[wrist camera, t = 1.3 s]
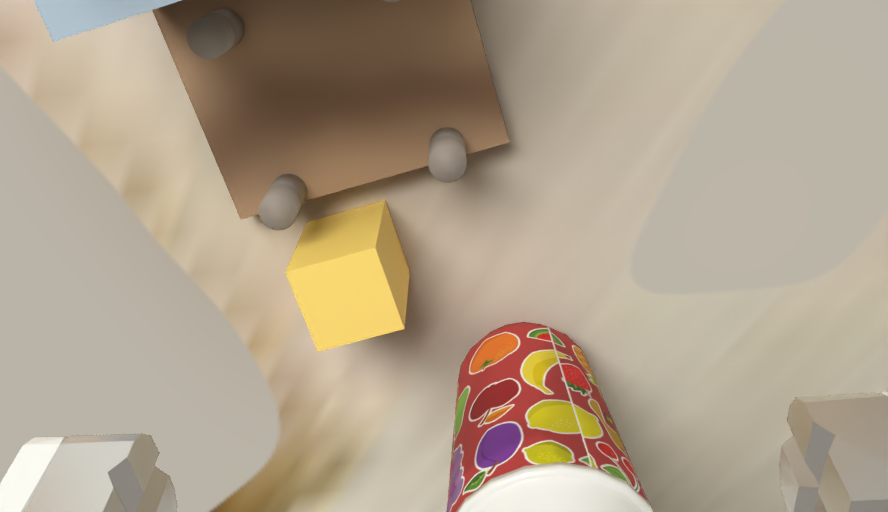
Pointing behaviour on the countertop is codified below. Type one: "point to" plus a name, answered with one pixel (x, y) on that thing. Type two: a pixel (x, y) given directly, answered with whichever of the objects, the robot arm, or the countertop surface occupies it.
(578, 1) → the countertop surface
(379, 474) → the countertop surface
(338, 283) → the yellow block
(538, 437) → the smoothie
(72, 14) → the cover
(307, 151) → the peg board
